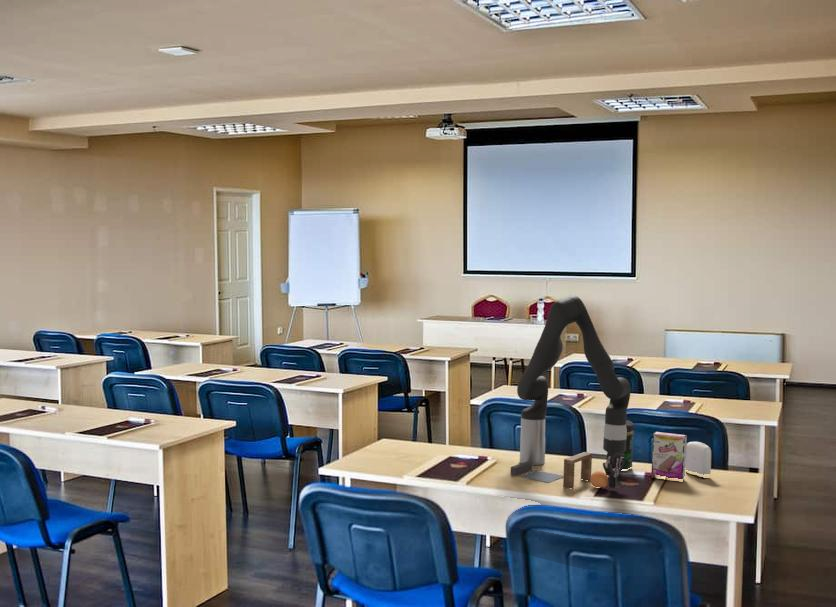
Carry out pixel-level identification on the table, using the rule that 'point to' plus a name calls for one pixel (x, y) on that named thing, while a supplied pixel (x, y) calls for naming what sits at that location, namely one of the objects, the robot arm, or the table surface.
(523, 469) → the stopper bar
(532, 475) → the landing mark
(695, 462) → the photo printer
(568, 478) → the bridge
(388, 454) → the table surface
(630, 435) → the coffee jar
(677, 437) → the candy bar box
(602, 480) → the ball
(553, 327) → the robot arm
